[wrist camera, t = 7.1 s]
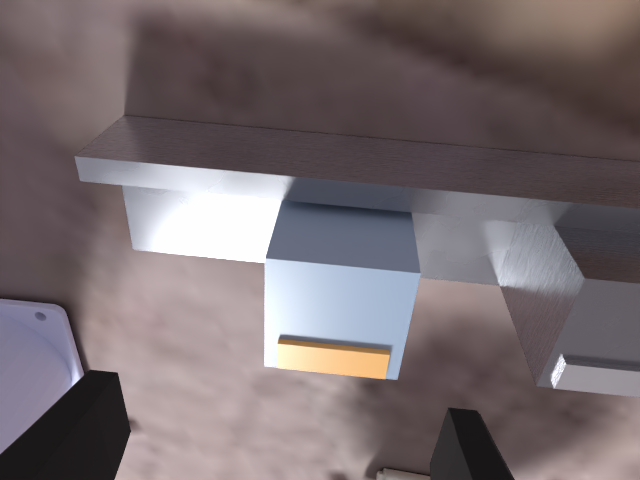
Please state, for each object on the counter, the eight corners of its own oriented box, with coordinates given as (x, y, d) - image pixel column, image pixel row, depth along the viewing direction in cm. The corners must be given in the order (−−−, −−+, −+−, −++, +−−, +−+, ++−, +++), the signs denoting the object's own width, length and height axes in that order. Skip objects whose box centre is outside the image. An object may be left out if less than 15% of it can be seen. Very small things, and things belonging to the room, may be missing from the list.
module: (286, 267, 19) (263, 371, 15) (289, 173, 17) (263, 262, 13) (390, 277, 19) (397, 385, 15) (407, 184, 17) (421, 278, 12)
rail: (142, 235, 20) (64, 347, 15) (123, 115, 17) (20, 201, 12) (593, 279, 20) (675, 410, 14) (647, 162, 17) (773, 273, 12)
